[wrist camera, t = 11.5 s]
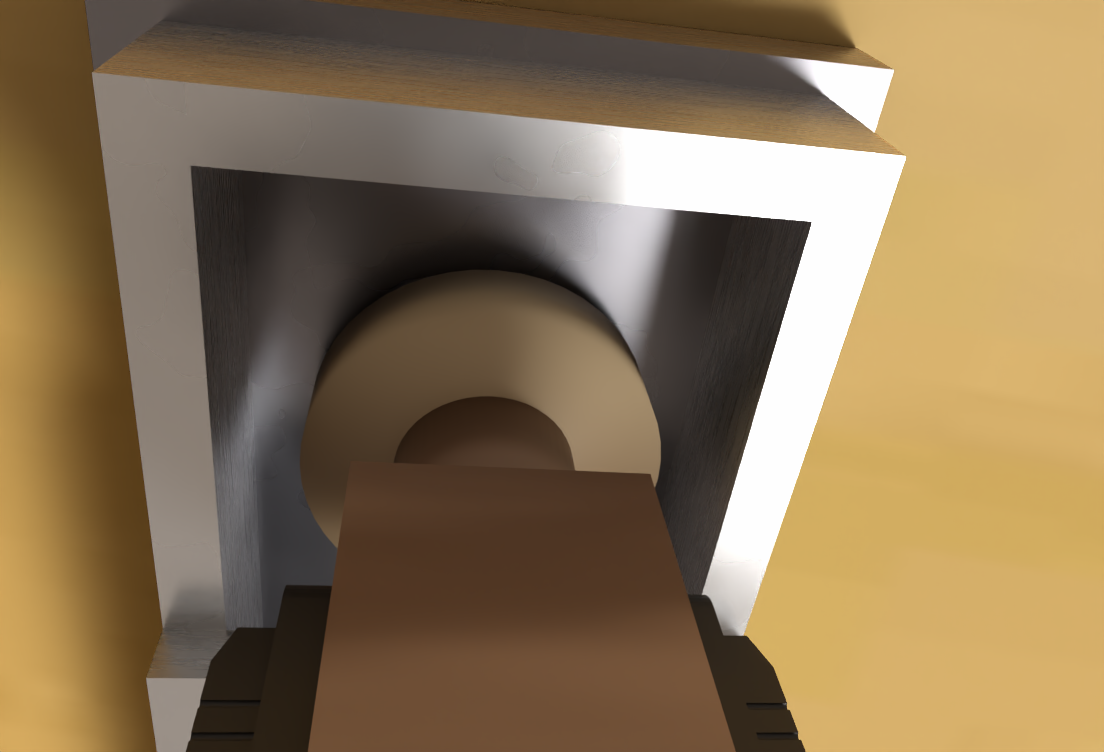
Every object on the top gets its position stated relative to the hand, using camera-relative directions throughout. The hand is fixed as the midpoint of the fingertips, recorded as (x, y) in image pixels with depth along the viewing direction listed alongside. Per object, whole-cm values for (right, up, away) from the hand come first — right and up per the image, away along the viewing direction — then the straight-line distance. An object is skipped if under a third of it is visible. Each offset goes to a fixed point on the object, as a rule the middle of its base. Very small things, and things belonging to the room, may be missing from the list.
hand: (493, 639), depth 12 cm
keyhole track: (-2, -1, +9) cm, 9 cm away
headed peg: (-1, +3, +5) cm, 5 cm away
